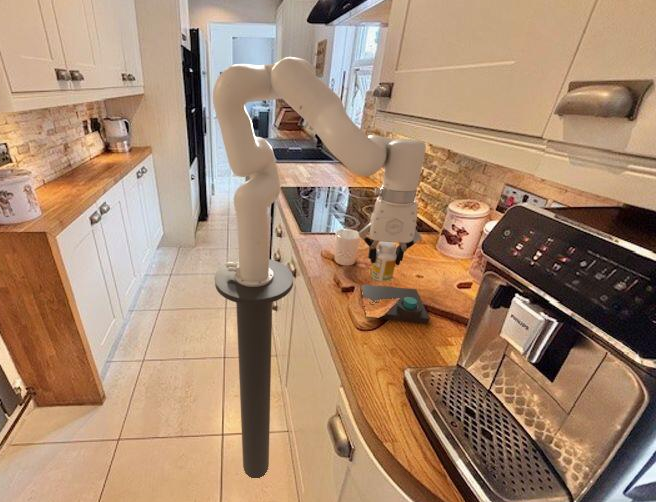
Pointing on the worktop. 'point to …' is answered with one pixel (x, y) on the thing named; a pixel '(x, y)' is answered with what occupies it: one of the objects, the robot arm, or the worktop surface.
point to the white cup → (346, 246)
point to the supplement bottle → (384, 262)
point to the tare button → (410, 303)
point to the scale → (398, 310)
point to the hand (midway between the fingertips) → (384, 261)
